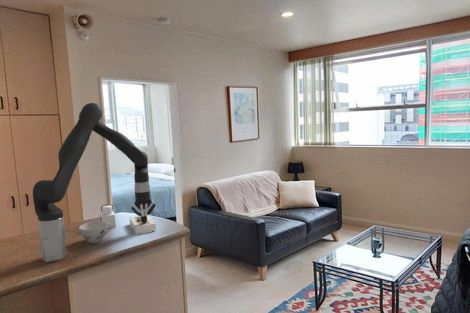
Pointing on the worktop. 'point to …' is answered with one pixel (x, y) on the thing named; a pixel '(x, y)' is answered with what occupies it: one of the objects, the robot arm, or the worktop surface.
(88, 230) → the teacup
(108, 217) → the medicine bottle
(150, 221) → the key panel
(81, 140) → the robot arm
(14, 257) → the worktop surface
